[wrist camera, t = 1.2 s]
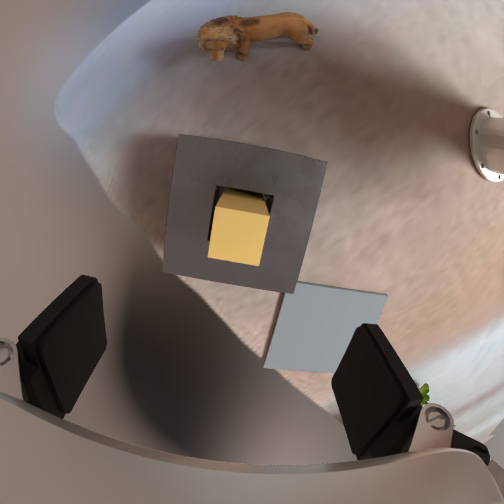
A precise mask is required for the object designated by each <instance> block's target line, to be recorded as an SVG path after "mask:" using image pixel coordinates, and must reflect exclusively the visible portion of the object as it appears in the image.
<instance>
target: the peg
mask: <svg viewBox="0 0 504 504" xmlns="http://www.w3.org/2000/svg"><path fill="white" fill-rule="evenodd" d="M269 218H270V215H269V213H268V210H267V207H266V204H265V201H264V198H263V195H262V193H258V192H253V191H248V190H242V189H237V188H231V187H226V189H225V191H224V192H223V194H222V196H221V198H220V199H219V201H218V203H217V205H216V206H215V212H214V219H213V225H212V231H211V238H210V244H209V251H208V257H209V258H214V259H220V260H226V261H232V262H237V263H243V264H249V265H255V266H259V264H260V259H261V255H262V250H263V245H264V241H265V236H266V232H267V227H268V222H269Z"/></svg>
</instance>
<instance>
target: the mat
mask: <svg viewBox="0 0 504 504" xmlns="http://www.w3.org/2000/svg"><path fill="white" fill-rule="evenodd" d="M387 298H388V295H387V294H381V293H374V292H367V291H360V290H353V289H346V288H340V287H333V286H326V285H320V284H313V283H307V282H301V281H297V284H296V287H295V291H294V294H289V293H284V296H283V300H282V303H281V307H280V310H279V314H278V318H277V321H276V324H275V328H274V331H273V335H272V338H271V341H270V345H269V348H268V351H267V355H266V358H265V361H264V365H263V367H264V368H270V369H280V370H292V371H306V372H324V373H335V372H336V370H337V368H338V366H339V364H340V362H341V360H342V358H343V355H344V353H345V351H346V349H347V347H348V345H349V343H350V341H351V339H352V336H353V334H354V332H355V330H356V328H357V327H360V326H361V325H362V324H363V323H369V324H376V323H377V321H378V319H379V316H380V314H381V312H382V310H383V307H384V305H385V303H386V300H387Z"/></svg>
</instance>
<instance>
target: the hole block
mask: <svg viewBox="0 0 504 504" xmlns="http://www.w3.org/2000/svg"><path fill="white" fill-rule="evenodd" d="M326 165H327V162H325V161H321V160H318V159H314V158H310V157H306V156H301V155H297V154H293V153H288V152H284V151H279V150H274V149H270V148H265V147H260V146H254V145H249V144H243V143H238V142H232V141H226V140H219V139H213V138H206V137H198V136H190V135H182V134H179V138H178V144H177V149H176V156H175V162H174V168H173V175H172V182H171V190H170V197H169V206H168V214H167V224H166V234H165V245H164V257H163V272H166V273H171V274H176V275H182V276H187V277H193V278H198V279H204V280H209V281H215V282H221V283H226V284H232V285H238V286H244V287H250V288H257V289H263V290H269V291H276V292H282V293H289V294H294V291H295V287H296V284H297V280H298V277H299V273H300V269H301V266H302V262H303V259H304V255H305V251H306V247H307V244H308V240H309V236H310V232H311V228H312V224H313V220H314V216H315V212H316V208H317V204H318V200H319V196H320V192H321V187H322V183H323V179H324V174H325V170H326ZM226 187H231V188H237V189H242V190H248V191H253V192H258V193H262V195H263V198H264V201H265V204H266V207H267V210H268V213H269V215H270V218H269V222H268V227H267V232H266V236H265V241H264V245H263V250H262V255H261V259H260V264H259V266H255V265H249V264H243V263H237V262H232V261H226V260H220V259H214V258H209V257H208V251H209V244H210V238H211V231H212V225H213V219H214V212H215V206H216V205H217V203H218V201H219V199H220V198H221V196H222V194H223V192H224V191H225V189H226Z"/></svg>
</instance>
